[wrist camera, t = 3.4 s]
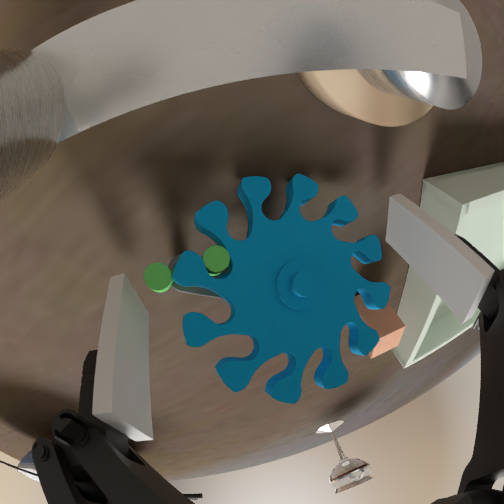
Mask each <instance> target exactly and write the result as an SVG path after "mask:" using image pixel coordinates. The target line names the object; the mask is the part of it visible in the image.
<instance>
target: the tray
mask: <svg viewBox="0 0 504 504" xmlns="http://www.w3.org/2000/svg"><path fill="white" fill-rule="evenodd" d="M420 208H421V209H423V210H424V211H425V212H427V213H428V214H429V215H431V216H432V217H433V218H434V219H436V220H437V221H438V222H440V223H441V224H442V225H443V226H445V227H446V228H447V229H448V230H450V231H451V232H452V233H453V234H457V235H459V236H461V237H463V238H465V239H466V240H467V241H468V242H469V243H471V244H472V246H474V247H475V248H476V249H478V252H479V251H480V252H481V253H482V254H483V255H484V256H485V257H486V258H488V259H489V260H490V261H491V262H492V263H493V264H494V265H495V266H496V267H497V268H498V269H499V270H502V269H504V162H502V163H497V164H492V165H487V166H482V167H477V168H472V169H467V170H462V171H458V172H453V173H448V174H444V175H439V176H435V177H430V178H426V179H423V186H422V194H421V202H420ZM479 313H480V310H479V308H478V307H477V309H476V311H475V313H474V315H473V317H472V318H470V319H469V320H467V321H466V322H464V323H463V324H462V323H461V322H460V321H459V319H458V318H457V317H456V316H455V315H454V313H453V312H452V311H451V310H450V309H449V308H448V306H447V305H446V304H445V303H444V302H443V301H442V299H441V298H440V297H439V296H438V295H437V294H436V293H435V292H434V290H433V289H432V288H431V287H430V286H429V285H428V284H427V283H426V282H425V281H424V280H423V278H422V277H421V276H420V275H419V274H418V273H417V272H416V271H415V270H414V269H413V268H412V267H411V266H410V265H409V269H408V273H407V277H406V282H405V286H404V289H403V293H402V297H401V301H400V304H399V308H398V311H397V315H398V316H399V317H400V319H401V320H402V321H403V323H404V324H405V329H404V332H403V334H402V337H401V340H400V342H399V345H398V346H396V347H394V348H392V351H393V352H394V354H395V355H396V357H397V359H398V360H399V362H400V363H401V365H402V367H403V368H406V367H408V366H410V365H412V364H413V363H415V362H417V361H419V360H421V359H422V358H424V357H426V356H427V355H429V354H431V353H432V352H434V351H436V350H437V349H439V348H440V347H442V346H444V345H445V344H447V343H448V342H450V341H451V340H453V339H454V338H456V337H457V336H459V335H460V334H462V333H463V332H465V331H466V330H467V329H469V328H470V327H472V326H473V324H474V322H475V321H476V319H477V317H478V315H479Z"/></svg>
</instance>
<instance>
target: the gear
mask: <svg viewBox="0 0 504 504" xmlns="http://www.w3.org/2000/svg"><path fill="white" fill-rule="evenodd" d="M237 192H238V197H239V199H240V200H241V201H242V203H243V205H244V207H245V209H246V212H247V215H248V232H247V238H246V240H243V241H238V240H235V239H233V238H232V237H230V235H229V234H228V232H227V221H228V210H227V208H226V206H225V205H224V204H223V203H222V202H221V201H219V200H217V201H213V202H211V203H209V204H207V205H205V206H204V207H202V208H201V209H200V210H199V211H198V212H196V213H195V218H194V224H195V226H196V228H197V229H198V231H200V232H201V233H203V234H205V235H207V236H208V237H210V238H211V239H213V240H214V241H215V242H216V243H217V244H218V245H214V246H211V247H209V248H208V249H207V250H206V251H205V253H204V255H203V257H200V256H199V255H198V254H197V253H195V252H193V251H189V250H185V251H184V252H183V254H180V255H178V256H176V257H174V258H173V259H172V260H171V262H170V263H169V265H168V267H167V266H166V265H164V264H163V263H153V264H151V265H149V266H148V267H147V268H146V270H145V273H144V280H145V283H146V284H147V286H148V287H149V288H151V289H152V290H153V291H155V292H165V291H166V290H168V289H169V288H170V286H172V287H173V288H174V289H176V290H177V291H180V292H184V293H190V294H196V295H203V296H209V297H216V298H223V299H224V300H226V301H227V302H228V303H229V305H230V307H231V316H230V318H229V319H228V320H227V321H226V322H224V323H221V324H216V323H214V322H213V321H212V320H210V319H209V318H208V317H206V316H205V315H203V314H201V313H198V312H190V313H187V314H185V315H184V316H183V331H184V336H185V340H186V343H187V345H188V346H191V347H200V346H203V345H205V344H206V343H208V342H209V341H210V340H212V339H214V338H216V337H219V336H223V335H228V334H241V335H249V336H250V337H251V338H252V339H253V342H254V349H253V351H252V353H251V354H250V355H249V356H247V357H244V358H237V357H226V358H223V359H221V360H220V361H219V362H218V363H217V364H216V366H215V369H216V371H217V373H218V374H219V376H220V377H221V379H222V380H223V382H224V383H225V384H226V385H227V386H228V387H229V388H230V389H231V390H232V391H234V392H239V391H241V390H243V389H244V388H245V387H246V386H247V385H248V384H249V381H250V379H251V377H252V375H253V374H254V372H255V371H256V370H257V369H258V368H259V367H260V366H261V365H262V364H263V363H264V362H266V361H267V360H269V359H271V358H272V357H274V356H276V355H278V354H281V353H286V354H287V356H288V359H289V362H288V366H287V367H286V369H285V370H284V371H282V372H280V373H278V374H276V375H274V376H273V377H271V378H270V379H269V380H268V382H267V384H266V388H265V392H267V393H268V394H269V395H270V396H271V397H273V398H274V399H276V400H278V401H281V402H285V403H292V404H295V403H296V402H297V401H298V399H299V398H300V395H301V378H302V374H303V371H304V368H305V366H306V364H307V362H308V360H309V359H310V357H311V356H312V354H313V353H314V351H315V350H316V349H318V348H319V347H321V349H322V350H323V359H322V361H321V363H320V364H319V366H318V368H317V369H316V371H315V375H314V380H315V383H316V384H317V385H318V386H320V387H323V388H325V389H332V388H336V387H338V386H341V385H343V384H345V383H347V380H348V371H347V369H346V367H345V366H344V364H343V362H342V360H341V356H340V336H341V330H342V328H343V327H344V325H345V324H347V326H348V328H349V348H350V350H351V351H352V352H353V353H354V354H359V355H364V356H366V355H367V354H369V353H370V352H371V351H372V350H373V349H374V348H375V346H376V345H377V344H378V342H379V341H380V337H379V334H378V332H377V331H376V330H375V329H372V328H370V327H369V326H368V325H366V323H365V322H364V321H363V320H362V318H361V317H360V315H359V313H358V310H357V307H356V305H355V301H354V297H355V293H356V292H357V291H358V292H359V293H360V295H361V297H362V300H363V303H364V305H365V306H366V307H367V308H368V309H371V310H375V309H385V307H386V305H387V302H388V299H389V294H390V287H389V285H388V284H387V283H385V282H378V283H376V282H371V281H368V280H366V279H364V278H363V277H362V276H360V275H359V274H358V273H357V272H356V271H355V270H354V269H353V267H352V265H351V256H352V255H353V256H354V257H356V258H357V259H358V260H359V261H360V262H361V263H363V264H369V263H372V262H376V261H379V260H381V259H382V251H381V245H380V241H379V238H378V236H376V235H369V236H367V237H364V238H362V239H360V240H358V241H357V242H356V243H348V242H343V241H339V240H337V239H336V238H335V237H334V236H333V234H332V231H331V226H332V224H333V225H337V226H344V225H346V224H348V223H350V222H352V221H354V220H355V219H356V218H357V217H358V213H357V210H356V208H355V207H354V205H353V204H352V202H351V201H350V200H349V199H348V198H347V196H340V197H339V198H337V199H336V200H335V201H333V202H332V203H330V205H329V206H328V209H327V212H326V213H325V215H324V216H323V217H322V219H319V220H316V221H313V222H310V221H307V220H305V219H304V218H303V217H302V216H301V214H300V210H299V207H300V205H303V204H305V203H307V202H308V201H310V200H311V199H312V198H313V197H314V196H316V194H317V193H318V184H317V183H315V182H314V181H313V180H311V179H310V178H308V177H306V176H304V175H301V174H299V173H297V174H296V175H295V176H294V177H293V178H292V179H291V180H290V181H289V183H288V184H287V186H286V195H287V202H286V207H285V209H284V212H283V214H282V215H281V217H280V218H279V219H278V220H270V219H268V218H267V217H265V215H264V214H263V212H262V203H263V201H264V200H265V199H266V198H267V196H268V195H269V194H270V192H271V183H270V181H269V179H268V178H266V177H261V176H250V177H243V179H242V181H241V183H240V185H239V187H238V191H237Z"/></svg>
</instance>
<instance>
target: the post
mask: <svg viewBox="0 0 504 504" xmlns="http://www.w3.org/2000/svg"><path fill="white" fill-rule="evenodd" d="M354 301H355V305H356V307H357V310H358V313H359V315H360V317H361V318H362V320H363V321H364V322H365V323H366V325H368V326H369V327H370V328H372V329H375V330H376V331H377V332H378V334H379V337H380V341H379V342H378V344H377V345H376V346H375V348H374V349H373V350H372V351H371V352H370V353H369V354H368V355H369V356H370V358H373V357H376V356H378V355H380V354H382V353H384V352H386V351H388V350H390V349H392V348H394V347H396V346H398V345H399V342H400V340H401V337H402V334H403V332H404V329H405V324H404V323H403V321H402V320H401V319H400V317H399V316H398V315H397V313H396V312H395V311H394V309H393V308H392V307H391V305H390V304H389V303H388V302H387V305H386V307H385V309H375V310H371V309H368V308H367V307H366V306H365V305H364V303H363V300H362V297H361V295H357V296H355V297H354Z"/></svg>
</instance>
